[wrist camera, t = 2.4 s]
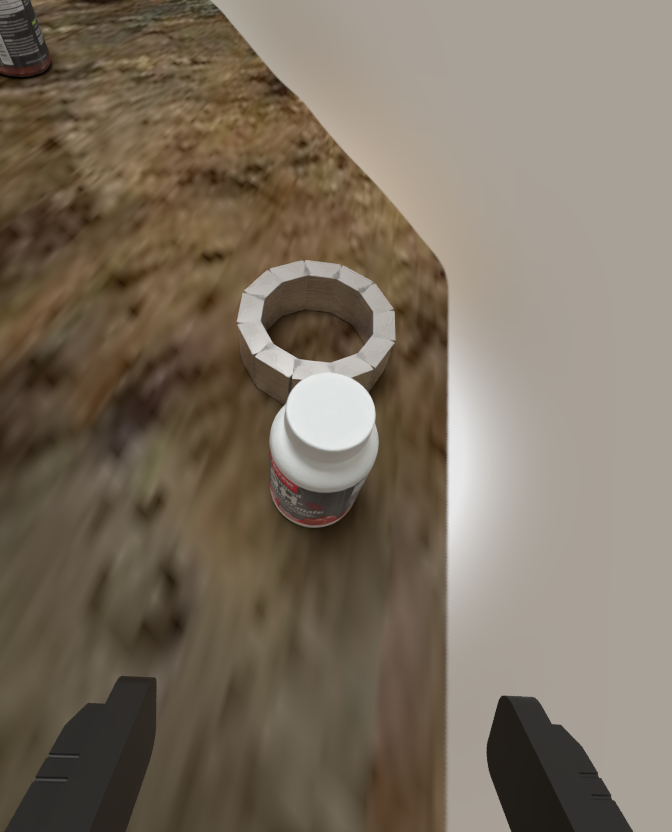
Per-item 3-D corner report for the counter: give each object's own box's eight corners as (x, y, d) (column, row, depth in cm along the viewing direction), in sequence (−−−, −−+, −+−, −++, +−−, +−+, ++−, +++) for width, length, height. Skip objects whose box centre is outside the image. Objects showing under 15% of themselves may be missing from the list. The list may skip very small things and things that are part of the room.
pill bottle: (255, 511, 26) (247, 438, 18) (289, 436, 29) (295, 342, 21) (340, 543, 26) (373, 484, 18) (366, 464, 29) (405, 381, 20)
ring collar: (211, 358, 31) (204, 325, 28) (296, 276, 36) (299, 241, 33) (335, 437, 30) (343, 410, 27) (407, 339, 35) (420, 307, 32)
